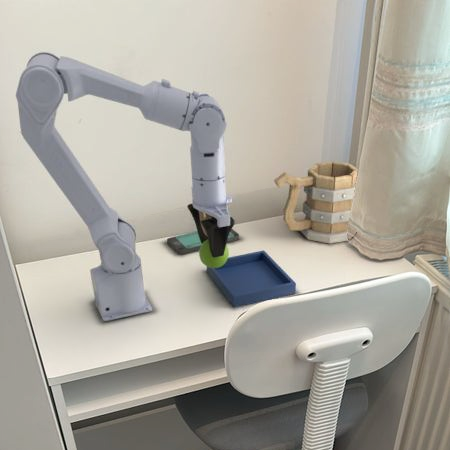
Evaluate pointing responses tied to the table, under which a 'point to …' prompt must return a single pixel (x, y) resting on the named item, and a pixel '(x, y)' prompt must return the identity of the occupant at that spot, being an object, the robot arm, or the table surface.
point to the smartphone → (192, 242)
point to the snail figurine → (205, 249)
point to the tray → (251, 279)
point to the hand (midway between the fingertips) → (212, 248)
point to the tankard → (321, 201)
